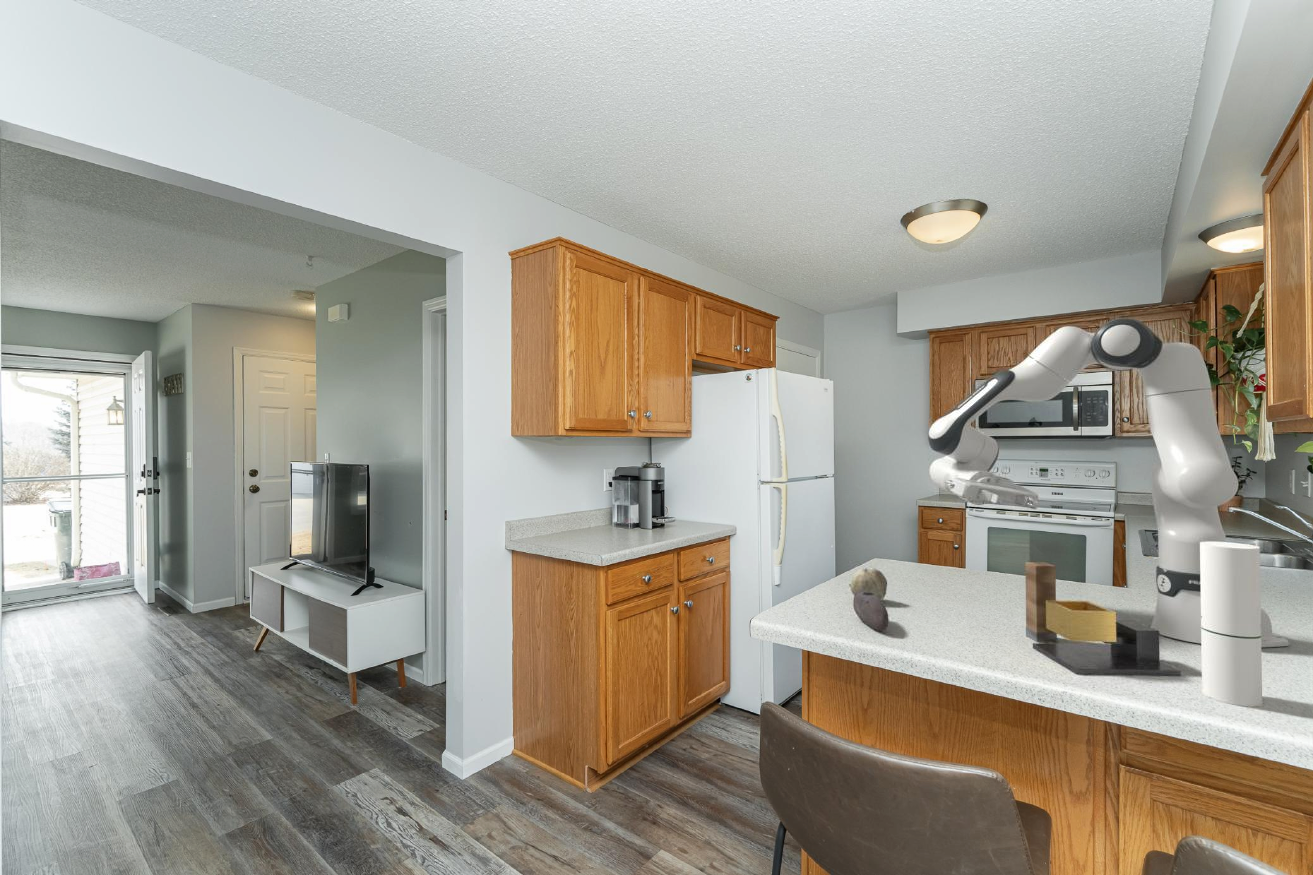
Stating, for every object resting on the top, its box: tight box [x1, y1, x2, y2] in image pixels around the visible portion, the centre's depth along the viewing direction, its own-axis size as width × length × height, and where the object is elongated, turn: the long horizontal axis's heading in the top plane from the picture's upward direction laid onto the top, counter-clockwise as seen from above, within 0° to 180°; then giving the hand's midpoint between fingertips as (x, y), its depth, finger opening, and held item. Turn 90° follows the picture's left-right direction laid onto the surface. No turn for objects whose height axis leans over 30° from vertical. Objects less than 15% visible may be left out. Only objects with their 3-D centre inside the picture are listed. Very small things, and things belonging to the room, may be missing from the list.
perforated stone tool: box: [852, 589, 889, 632], centre depth 139 cm, size 15×5×7 cm, turn 178°
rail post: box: [1024, 561, 1058, 643], centre depth 129 cm, size 4×4×16 cm
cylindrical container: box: [1200, 541, 1263, 708], centre depth 99 cm, size 7×7×25 cm
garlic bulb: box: [848, 567, 888, 601], centre depth 160 cm, size 9×8×10 cm
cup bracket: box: [1032, 600, 1182, 677], centre depth 115 cm, size 18×14×10 cm
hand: (1017, 502), depth 138 cm, fingers open, 8 cm apart
